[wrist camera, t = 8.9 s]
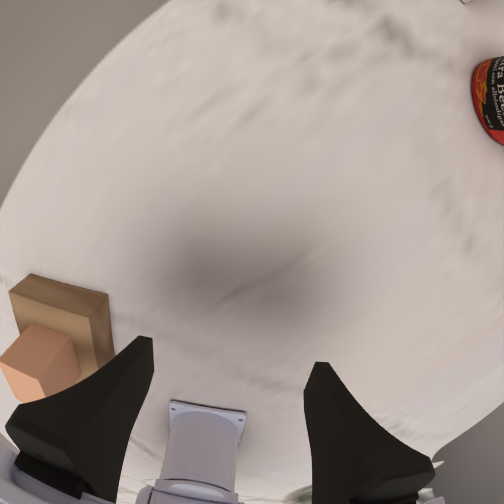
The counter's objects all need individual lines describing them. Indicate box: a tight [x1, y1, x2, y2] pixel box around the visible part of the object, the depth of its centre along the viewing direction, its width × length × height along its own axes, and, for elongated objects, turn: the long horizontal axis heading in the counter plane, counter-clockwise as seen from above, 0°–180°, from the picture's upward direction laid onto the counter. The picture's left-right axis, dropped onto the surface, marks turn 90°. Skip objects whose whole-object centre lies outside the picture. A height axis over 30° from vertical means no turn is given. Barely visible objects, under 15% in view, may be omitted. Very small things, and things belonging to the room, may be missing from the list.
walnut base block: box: [8, 274, 115, 384], centre depth 23 cm, size 9×9×4 cm
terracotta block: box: [0, 323, 81, 403], centre depth 18 cm, size 4×4×6 cm
